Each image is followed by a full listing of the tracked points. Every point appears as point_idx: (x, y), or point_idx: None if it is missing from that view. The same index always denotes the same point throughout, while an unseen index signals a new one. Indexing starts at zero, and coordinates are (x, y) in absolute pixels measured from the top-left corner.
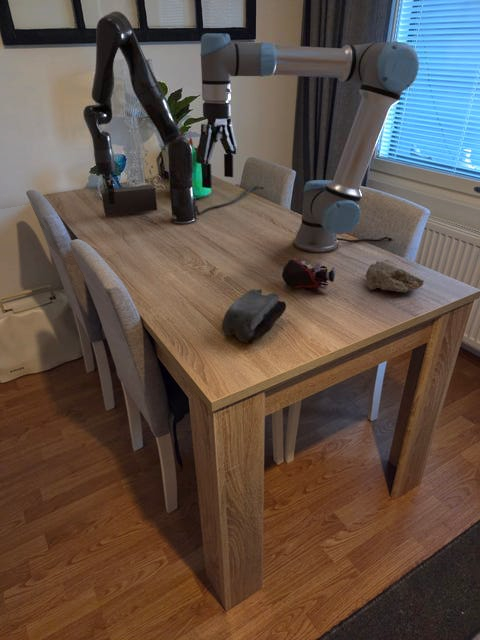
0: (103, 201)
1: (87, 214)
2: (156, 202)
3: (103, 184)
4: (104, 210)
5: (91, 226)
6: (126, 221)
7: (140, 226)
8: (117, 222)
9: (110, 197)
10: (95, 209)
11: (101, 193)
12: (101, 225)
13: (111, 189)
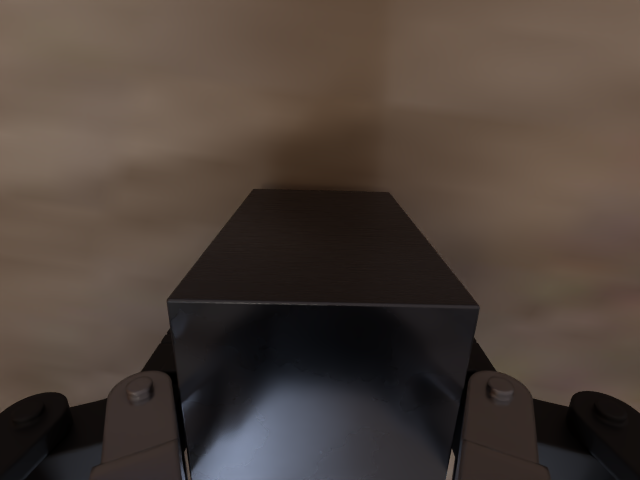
0: (214, 239)
1: (479, 16)
2: None
3: (504, 468)
4: (306, 199)
5: (74, 12)
6: (151, 320)
7: (20, 383)
8: (142, 256)
9: (151, 369)
10: (597, 122)
11: (365, 278)
12: (88, 116)
13: (388, 473)
